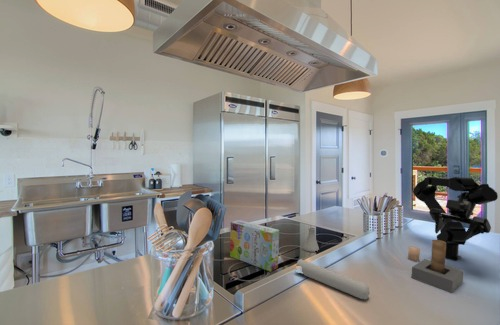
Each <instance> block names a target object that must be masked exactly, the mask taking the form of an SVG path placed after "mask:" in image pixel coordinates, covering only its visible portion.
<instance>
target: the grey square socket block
mask: <svg viewBox="0 0 500 325" xmlns="http://www.w3.org/2000/svg"><path fill="white" fill-rule="evenodd" d="M464 272H465V271H464V270H461V269H459V268H455V267H452V266H450V265H449V266H448V265H447V264H445V271H444V274H441V273H438V272H435V271H432V270H431V260H429V259H426V258H424V259H422V260H421V261H419V262H418V263H416V264H415V265H412V268H411V278H412V279H415V280H416V281H419V282H421V283H425V284H427V285H429V286H433V287H436V288H438V289H441V290H443V291H446V292H448V293H454V292H455V290H457V288H459V287H460V286H461V284H462V283H463V282H464Z"/></svg>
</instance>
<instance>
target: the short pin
mask: <svg viewBox="0 0 500 325" xmlns="http://www.w3.org/2000/svg"><path fill="white" fill-rule="evenodd" d="M420 249H421V248H419V247H417V246H411V245H410V246H408V254H407V255H408V256H407V260H409V261H411V262H415V263H417V262H418V263H419V262H420V253H421V251H420Z"/></svg>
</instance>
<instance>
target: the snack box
mask: <svg viewBox="0 0 500 325" xmlns="http://www.w3.org/2000/svg"><path fill="white" fill-rule="evenodd" d="M229 234H230V235H229V236H230V240H229V242H230V243H229V257H230V258H233V259H236V260H238V261H241V262H242V263H243V262H245V263H247V264H249V265H251V266H255V267H256V268H260V269H262V270H265V271H267V272H270V273H272V272H273V271H275V270H277V269H278V268H279V244H280V229H277V228H273V227H269V226H264V225H261V224H257V223H254V222H253V223H252V222H250V221H249V222H248V221H245V220H240V219H237V220H234V221H231V222H230V233H229Z"/></svg>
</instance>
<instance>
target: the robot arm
mask: <svg viewBox="0 0 500 325" xmlns="http://www.w3.org/2000/svg"><path fill="white" fill-rule="evenodd" d="M437 186H438V187H444V188H448V189H450V190H451V191H455V192H461V194H458V195H457V200H453V199H447V202H446V205H445V208H447V209H448V213H449V214H448V213H447V212H446V211H445V208H443V207H442V205H441V204H440V203H439V202H438V200H437V198H436V192H437V189H438V187H437ZM412 193H413V195H414V196H415V198H416V199H417V200H419V201H420V202H422V203H424V204H425V205H426V208H428V210H429V211H428V213H429V215H430V217H431V219H432V220H433V221H434V223H435V224H434V232H435V234H437V235H436V240H441V241H444V242H446V256H445V259H446V258H447V259H450V260H452V261H453V260H454V261H458V260H459V259H461V256H462V255H459V246H461V245H462V246H464V245H465V244H466V242H467V241H468V240H470V239H472V238H473V237H475V236H478V235H479V234H480V235H481V234H485V233H486V234H490V232H491V229H492V226H491V224H490V221H489V219H487V218H485V217H481V216H473V215H474V209H475V208H476V206H477V205H479V206H480V205H484V204H488V203H491V202H495V201H497V200H498V198H499V197H498V192H497V191H496V190H495V189H494V188H492V187H490V185H489V184H488V183H481V184H479V183H477V182H476V181H475V180H474V178H473V177H459V176H458V177H457V176H456V177H449V178H446V177H438V176H437V177H436V176H426V177H425V178H424V179H423V180H421V181H420V182H418V183H417V184H416V185H415V186H414V187H413V190H412ZM471 216H473V217H472V218H471ZM463 224H466V225H469V226H468V228H467V229H466V228H465V227H464V225H463Z"/></svg>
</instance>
